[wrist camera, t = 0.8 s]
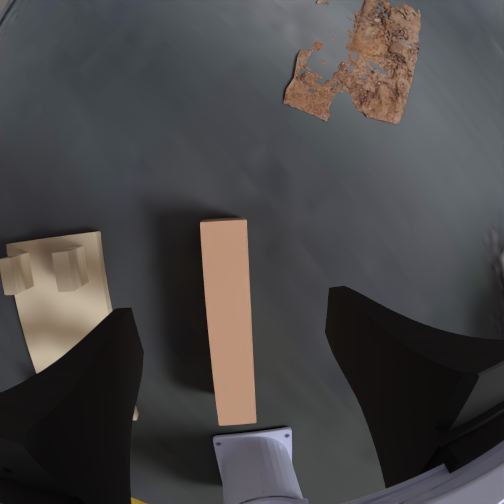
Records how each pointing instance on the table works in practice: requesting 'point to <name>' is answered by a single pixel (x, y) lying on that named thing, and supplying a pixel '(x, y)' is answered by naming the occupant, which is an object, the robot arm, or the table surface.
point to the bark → (367, 46)
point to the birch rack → (57, 292)
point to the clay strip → (229, 317)
